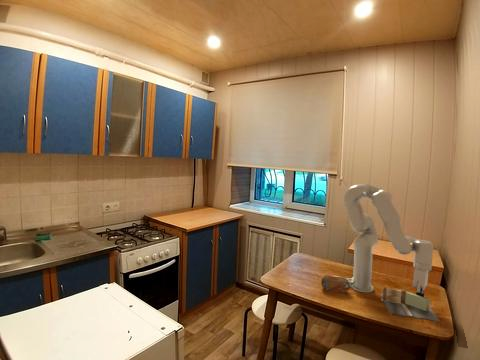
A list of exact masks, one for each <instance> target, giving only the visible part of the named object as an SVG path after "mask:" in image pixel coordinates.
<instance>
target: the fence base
mask: <svg viewBox="0 0 480 360" xmlns="http://www.w3.org/2000/svg"><path fill="white" fill-rule="evenodd" d="M382 288H383V289H382V291H383V292H382V293H380V296H381V298H380V300H381V302H383V303H384V305H385V307H386V309H387V312H388V314H390V315H395V316H403V317H409V318H416V319H421V320H429V321H435V322H440V319H439V317H438V316H437V314H436V313H435V312H434V311H433V310H432V308H431V306H429V312H426V311H424V310H421V309H419V308H416V307H413V306H410V305H408V304H405V301H406V292H407V290H405V289H393V288H387V287H382Z"/></svg>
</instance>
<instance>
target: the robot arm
mask: <svg viewBox="0 0 480 360" xmlns="http://www.w3.org/2000/svg"><path fill="white" fill-rule="evenodd" d="M363 199H367V200H369V201H371V203H372V205H373V206H374V208H375V210H376V213H377V214H378V215H379V217H380V219H381V221H382V222H383V227H384V229H385V232H386V235H387V238H388V240H389V242H390V243H391V245H392V247H393V248H394V250H395V251H396V252H397V253H398V254H401V255H403V256H404V255H405V256H407V255H409V254H411V253H412V252H414V254H413V265H412V266H413V268H414V272H413V280H412V288H416V291H415V295H418V296H421V297H424V298H425V289H426V288H427V286H428V285H427V284H428V280H429V272H430V271H431V272H432V267H433V258H434V257H433V256H434V255H433V253H434V243H433V242H432V241H429V240H425V239H418V238H415V237H413V236H408V235H405V233H404V232H403V229H402V225H401V216H400V214H399V213H398V211H397V209H396V208H395V206H394V204H393V195H392V194H391V192H389V191H388V190H385V189H382V188H380V187H377V186H374V185H371V184H367V183H359V184H355V185H352V186H351V187H349V188H348V189H347V190H346V191H345V193H344V197H343V200H344V201H343V202H344V205H345V207H346V212H347V216H348V220H349V222H350V227H351V228H352V230H353V231H354V232H356V233H359V234H358V235H357V236H355V238H354V240H353V253H354V254H353V272H352V274H353V276H352V277H350V278H347V277H345V278H346V279H347V280H348V281H349V284H350V288H351V289H353V290H354V291H357V292H360V293H364V294H365V293H368V294H369V293H373V291H374V290H375V289H374V286H373V285H372V275H373V273H372V272H373V271H372V270H373V249H374V247H376V246H377V245H378V242H379V237H378V233H377V230H376V229H377V228H376V227H375V226H376V225H375V222H374V220H373V218H372V216H370V214H368V213H365V212H364V209H363V206H362V203H361V202H360V201H361V200H363Z"/></svg>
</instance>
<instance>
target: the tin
mask: <svg viewBox="0 0 480 360" xmlns="http://www.w3.org/2000/svg"><path fill="white" fill-rule="evenodd" d="M346 278H347V277H344V276H338V275H333V274H326V275H325V274H324V276H323V277H322V279H321V283H320V284H321V287H322V288H324V289H325V290H326V289H328V290H327V291H329V290H333V291H332V292H335V291H337V292H336V293H343V294H344V293H348V291H349V290H350V288H351V287H350V283H349V281H348V280H347V279H346Z"/></svg>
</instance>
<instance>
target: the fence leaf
mask: <svg viewBox="0 0 480 360" xmlns="http://www.w3.org/2000/svg"><path fill="white" fill-rule="evenodd" d="M430 303H431V299H430V298H429V297H427V298H426V297H425V296H424V297H421V296H418V295H416V293H412V292H409V291H406V301H405V304H408V305H410V306H413V307H416V308H419V309H421V310H424V311H426V312H429V307H430Z"/></svg>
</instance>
